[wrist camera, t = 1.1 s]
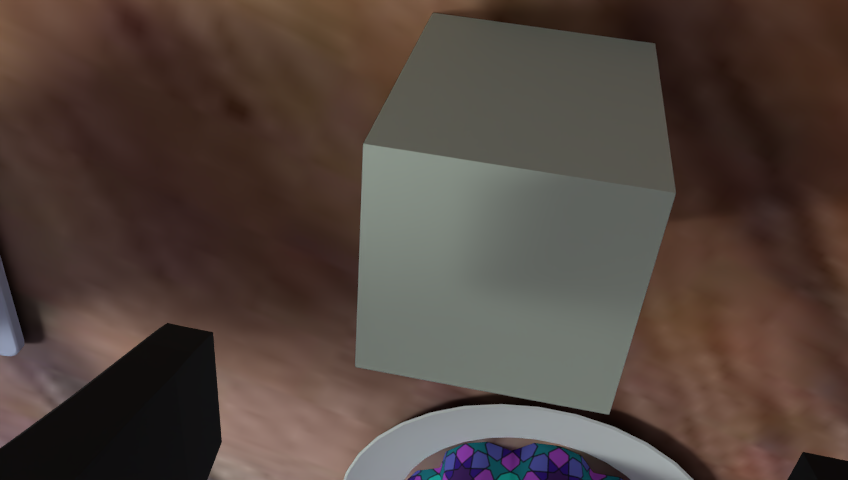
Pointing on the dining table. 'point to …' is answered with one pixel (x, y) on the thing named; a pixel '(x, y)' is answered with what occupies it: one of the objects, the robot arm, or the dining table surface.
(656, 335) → the dining table surface
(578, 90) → the block
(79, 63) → the dining table surface
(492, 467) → the pudding
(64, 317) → the dining table surface
